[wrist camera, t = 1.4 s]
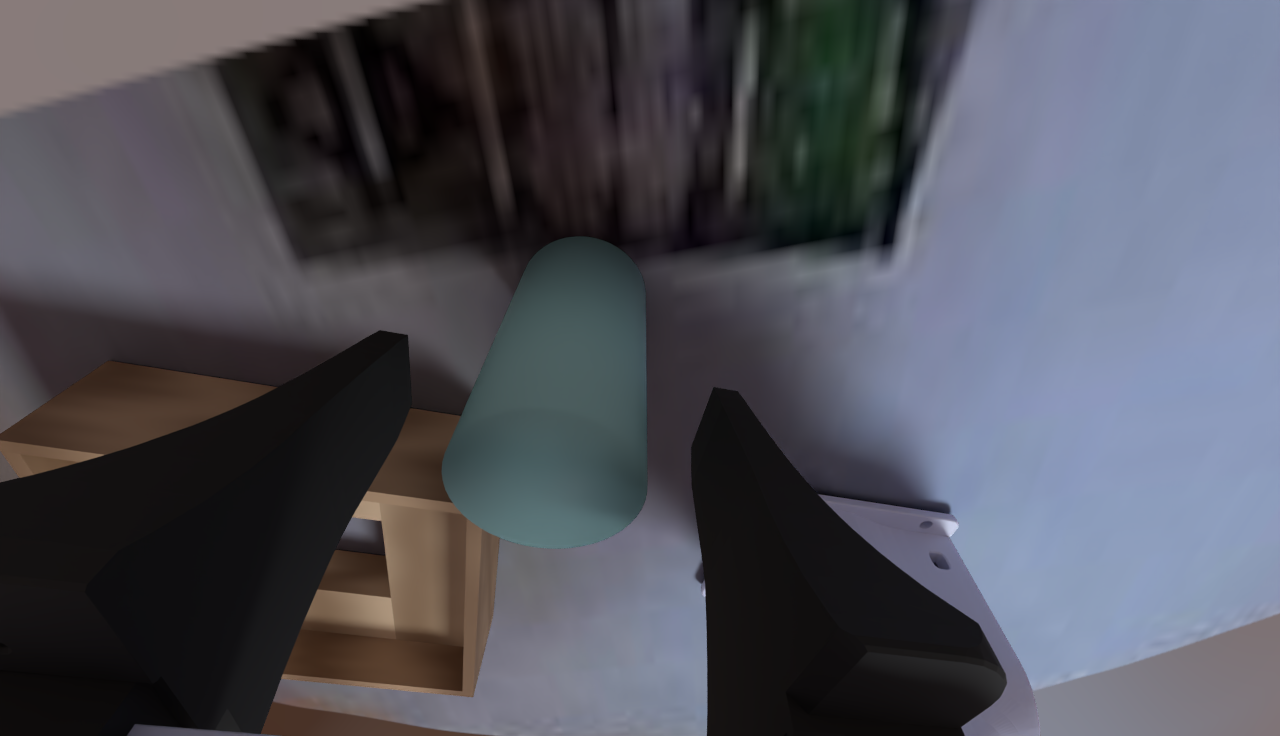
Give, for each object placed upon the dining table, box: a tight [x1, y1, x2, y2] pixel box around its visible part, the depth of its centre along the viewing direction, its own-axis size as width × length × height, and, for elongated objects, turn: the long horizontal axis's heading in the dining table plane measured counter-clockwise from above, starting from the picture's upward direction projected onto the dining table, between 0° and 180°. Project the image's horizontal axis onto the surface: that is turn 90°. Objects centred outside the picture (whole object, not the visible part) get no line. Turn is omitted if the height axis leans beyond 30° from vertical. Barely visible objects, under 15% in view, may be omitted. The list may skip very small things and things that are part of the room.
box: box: [0, 361, 500, 697], centre depth 21 cm, size 14×14×4 cm
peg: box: [442, 236, 647, 549], centre depth 13 cm, size 4×4×8 cm
